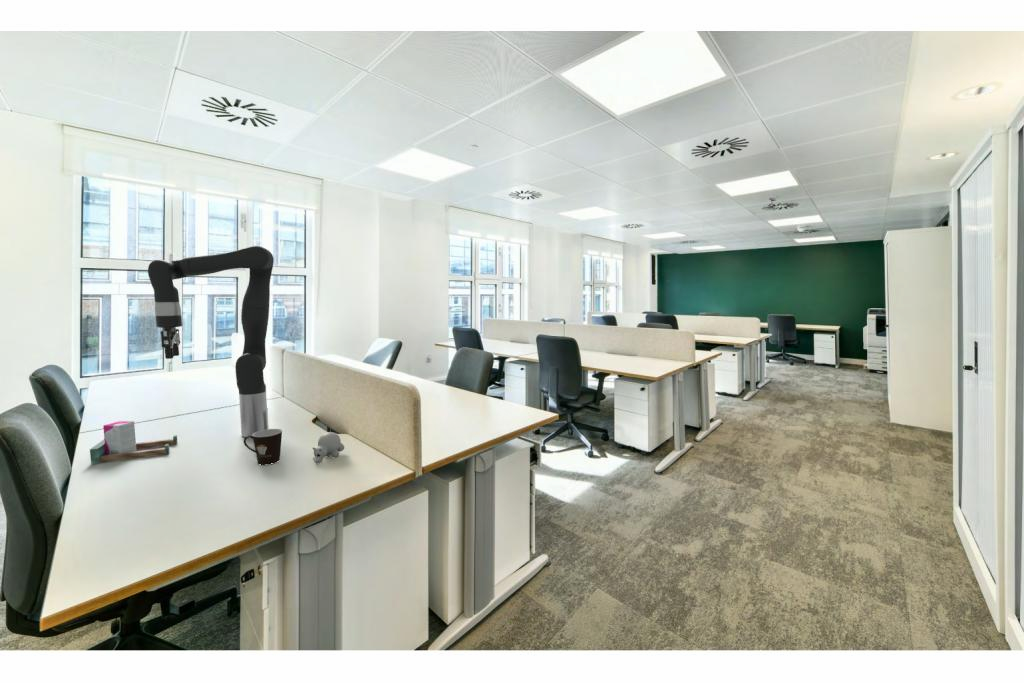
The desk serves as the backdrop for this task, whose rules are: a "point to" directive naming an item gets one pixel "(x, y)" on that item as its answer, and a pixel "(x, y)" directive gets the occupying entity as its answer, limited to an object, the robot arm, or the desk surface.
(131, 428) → the supplement box
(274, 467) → the desk surface
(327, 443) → the chubby cartoon animal
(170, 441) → the guide lane
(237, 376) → the robot arm
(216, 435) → the desk surface
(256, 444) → the coffee mug
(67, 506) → the desk surface
